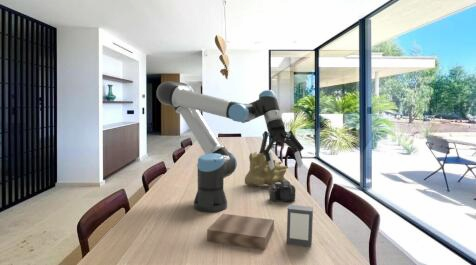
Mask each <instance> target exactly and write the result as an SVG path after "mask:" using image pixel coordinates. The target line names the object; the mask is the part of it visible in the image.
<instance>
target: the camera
mask: <svg viewBox="0 0 476 265" xmlns="http://www.w3.org/2000/svg"><path fill="white" fill-rule="evenodd" d="M295 200H296V187H295V185H293V184H291V182H290V181H289V180H288V179H286V180H283V181H282V182H281V183H275V184H272V185H271V186H270V185H269V201H270V202H272V203H275V202H279V201H280V202H294V201H295Z"/></svg>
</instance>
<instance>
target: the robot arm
mask: <svg viewBox="0 0 476 265" xmlns="http://www.w3.org/2000/svg"><path fill="white" fill-rule="evenodd" d="M156 99H158V101H159V102H160V103H161V104H162V105H164V106H170V107H172V108H173V110H174V111H175V113H177V114H180V116H181V117H182V118H183V120H184V122H185V123H186V125H187V127H188V128H189V129H190V130H189V131H191V133H192V135H193V137H194V139H195V140H196V141H197V143H198V144H199V146H200V148H201V150H202V151H203V153H204V154H202V155H200V156H199V157H198V159H197V165H196V167H197V191H196V193H195V197H194V200H193V209H194V210H197V211H198V212H205V213H214V212H215V213H216V212H221V211H224V210H226V209H227V208H228V200H227V197H226V193H225V190H224V183H225V182H224V179H225V178H227V177H230V176H231V175H232V174H233V173H234V172H235V171H236V169H237V165H238V162H237V158H236V156H235V155H234V154H233V153H232V152H230V151H228V149H227V148H226V146H225V145H222V144H220V143H219V141H218V139H217V137H216V136H215V135H214V133H213V131H212V130H211V128H210V126H209V125H208V123H207V121H206V120H205V119H204V117H203V115H202V114H201V112H203V113H207V114H211V115H215V116H219V117H221V118H222V117H223V118H227V119H230V120H232V121H234V122H237V123H242V124H245V123H248V122H250V121H252V120H255V119H257V118H260V117H262V116H264V121H265V124H266V130H265V131H264V132H263V133H262V142H261V145H260V150H259V152H260V153H263V155H265V157H266V161H268V162H269V166H270V170H272V169H273V168H274V167H275V166H274V162H273V160H274V159H273V155H272V151H271V149H272V147H273V145H274V143H283V144H286V146H288V147H289V148H290V149H291V150H292V151H293V152H294V153H293V154H294V157H295V161H296V163H297V167H298V168H301V167H302V166H304V163H303V159H302V158H303V156H302V151H303V150H304V149H305V148H304V147H303V146H302V144H301V143H300V141H299V140H298V139H297V137H296V136H295V135H294V133H293V131H292V130H289V131H286V128H285V124H284V120H283V117H282V114H281V110H280V107H279V106H280V105H279V103H278V98H277V96H276V94H275V92H274V91H273V90H271V89H266V90H263V91H261V92H260V93H259V95H258V99H257V100H254V101H252V102H250V103H241V102H237V101H232V100H227V99H223V98H220V97H215V96H211V95H208V94H205V93H204V94H203V93H199V92H196V91H194V88H192V87H191V85H189V84H187V83H185V82H180V81H179V82H176V81H173V80H172V81H171V80H167V81H163V82H162V83H160V84H159V85H158V87H157V89H156ZM268 137H269V138H270V140H269V143H268V145H267V142H268ZM270 151H271V152H270Z"/></svg>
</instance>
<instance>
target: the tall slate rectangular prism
mask: <svg viewBox="0 0 476 265" xmlns="http://www.w3.org/2000/svg"><path fill="white" fill-rule="evenodd" d="M286 216H287V217H286V218H287V219H286V244H288V245H296V246H303V247H309V248H311V247H312V244H313V243H312V242H313V219H314V207H313V206H307V205H297V204H288V206H287V215H286Z"/></svg>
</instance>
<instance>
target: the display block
mask: <svg viewBox="0 0 476 265" xmlns="http://www.w3.org/2000/svg"><path fill="white" fill-rule="evenodd" d="M274 231H275V219H272V218H271V219H270V218H262V217H255V216H245V215H237V214H230V213H229V214H228V213H221V215H220V216H219V217H218V218H217V219H216V220H215V221H214V222H213V223H212V224H211V225H210V226H209V227H208V228H207V229H206V241H207V242H212V243H220V244H226V245H231V246H232V245H233V246H237V247H245V248H250V249H251V248H252V249H258V250H259V249H260V250H266V248H267V246H268V244H269V242H270V240H271V237H272V235H273V233H274Z"/></svg>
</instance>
